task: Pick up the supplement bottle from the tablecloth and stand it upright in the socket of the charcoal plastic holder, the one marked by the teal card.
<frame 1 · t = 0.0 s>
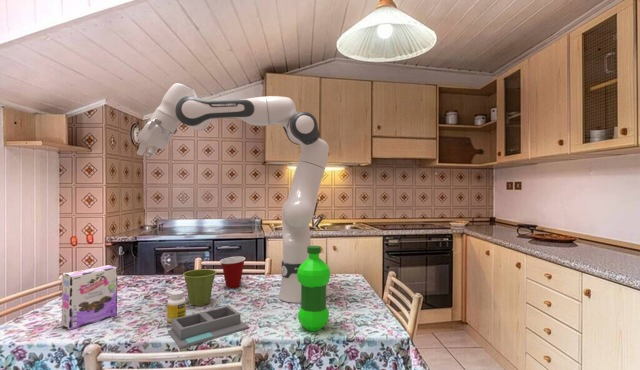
hand: (143, 155, 119), 54 cm above the table, tool tilted 30°, fingers open, 8 cm apart
plastic bottle: (313, 328, 102), on the table
plastic cup: (232, 286, 142), on the table
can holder: (206, 328, 101), on the table
plant pot: (199, 303, 122), on the table
supplement bottle: (176, 323, 105), on the table
candy box: (90, 321, 106), on the table
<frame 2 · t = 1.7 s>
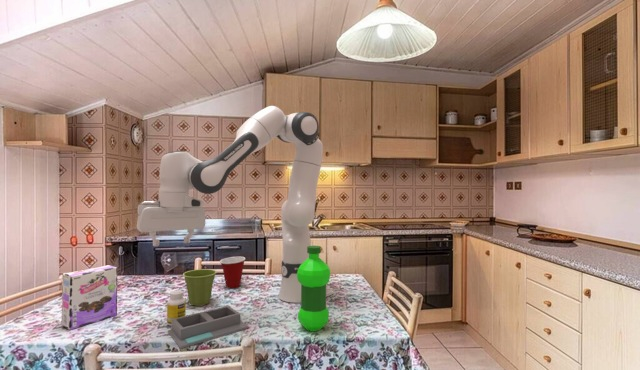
hand: (171, 244, 105), 25 cm above the table, tool pointing down, fingers open, 8 cm apart
nothing on the table moved.
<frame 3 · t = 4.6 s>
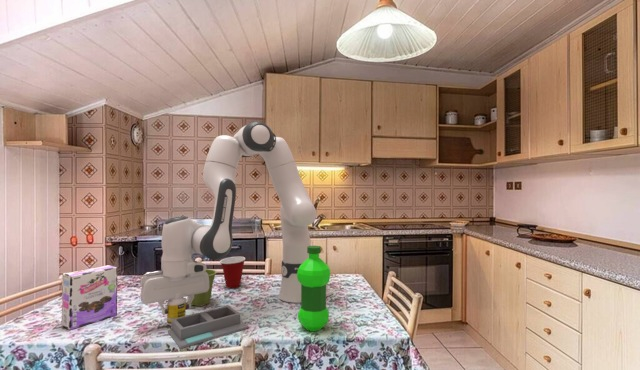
hand: (176, 311, 105), 4 cm above the table, tool pointing down, fingers closed on supplement bottle, 5 cm apart
supplement bottle: (176, 323, 105), on the table, touching gripper
everything else where it was.
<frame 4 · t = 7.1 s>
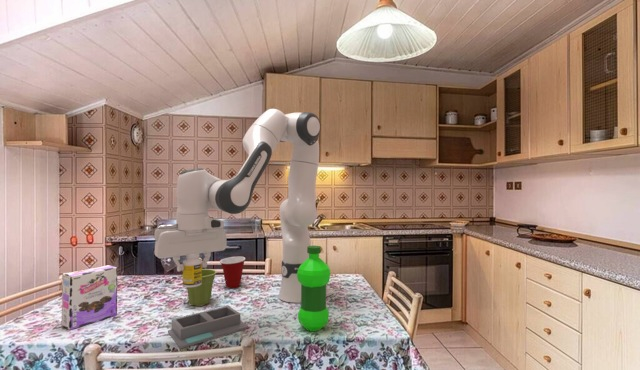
hand: (192, 269, 98), 19 cm above the table, tool pointing down, fingers closed on supplement bottle, 5 cm apart
supplement bottle: (192, 285, 98), point 14 cm above the table, touching gripper
everything else where it was.
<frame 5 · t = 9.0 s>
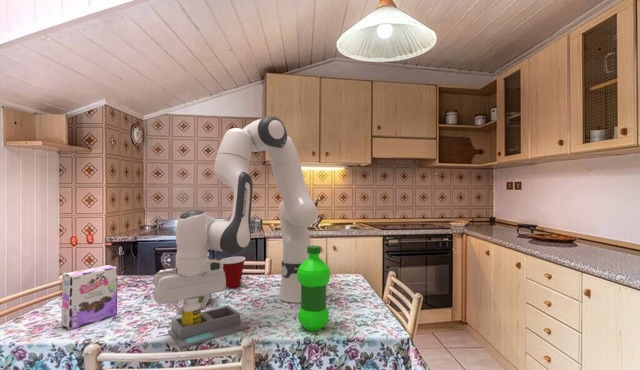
hand: (191, 311, 98), 6 cm above the table, tool pointing down, fingers closed on supplement bottle, 5 cm apart
supplement bottle: (191, 329, 98), point 1 cm above the table, touching gripper
everything else where it was.
when the fingers open (6 cm above the table, at t = 10.0 s): supplement bottle stays where it is, resting on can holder.
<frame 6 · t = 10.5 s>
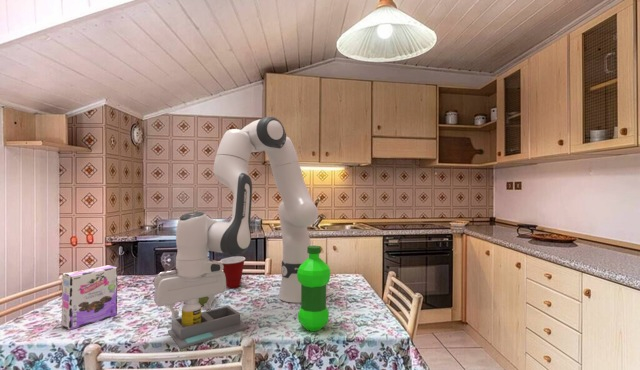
hand: (191, 313, 98), 6 cm above the table, tool pointing down, fingers open, 8 cm apart
supplement bottle: (191, 330, 98), resting on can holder
everything else where it was.
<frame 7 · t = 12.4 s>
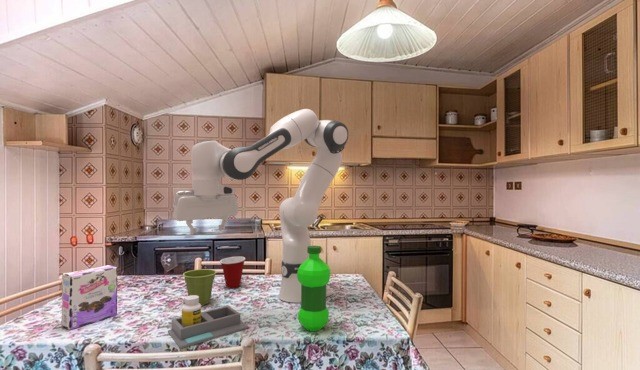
hand: (208, 232, 107), 29 cm above the table, tool pointing down, fingers open, 8 cm apart
nothing on the table moved.
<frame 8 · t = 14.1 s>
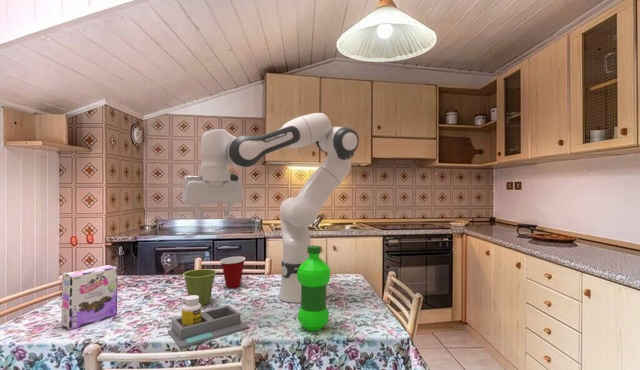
hand: (213, 216, 112), 33 cm above the table, tool pointing down, fingers open, 8 cm apart
nothing on the table moved.
at the end: supplement bottle 0.4 cm from the target spot on the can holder, point 0.4 cm above the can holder's base; supplement bottle tilted 0°; the gripper is holding nothing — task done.
